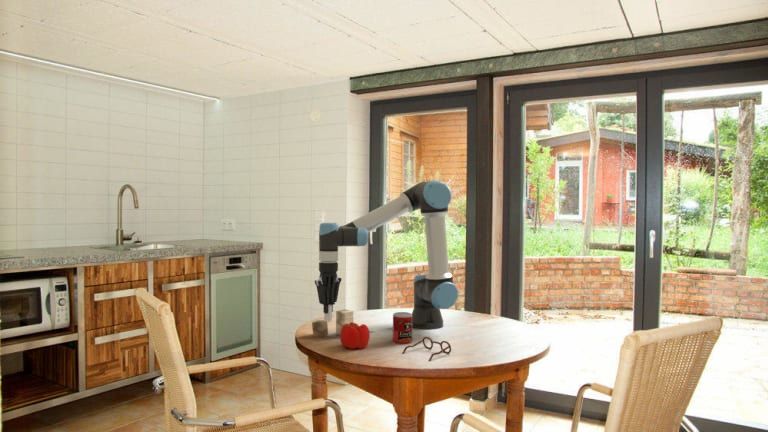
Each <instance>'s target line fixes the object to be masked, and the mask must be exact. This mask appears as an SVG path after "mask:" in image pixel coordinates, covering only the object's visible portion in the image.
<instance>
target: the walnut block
mask: <svg viewBox="0 0 768 432" xmlns="http://www.w3.org/2000/svg"><path fill="white" fill-rule="evenodd" d="M311 326H312V336H313V338H315V337H316V338H325V337H327V335H329V330H328V329H329V327H328V322H327V321H324V320H323V319H320V320H315V321H313V322H311Z"/></svg>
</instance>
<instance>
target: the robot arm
mask: <svg viewBox="0 0 768 432" xmlns="http://www.w3.org/2000/svg"><path fill="white" fill-rule="evenodd" d="M451 201H452V190H451V188H450V187H449V186H448V185H447V183H445V182H443V181H440V180H434V179H433V180H429V181H428V180H427V181H420V182H419V183H417V184H415V185H413V186H412V187H409V188H408V189H407V190H404V191H403V192H401V193H400V194H399V196H398V197H396V198H394V199H393V200H390V201H389V202H386V203H385V204H382V205H381V206H380V207H377V208H375V209H373V210H371V211H369V212H367V213H365V214H364V215H362V216H360V217H358V218H356V219H354V220H352V221H350V222H348V223H347V224H345V225H340V226H339V224H338V222H322V223H320V225H319V230H318V249H319V250H318V261H319V262H318V272H319V276H318V277H319V278H318V279H317V280H314V284H315V287H316V290H317V297H318V302H319V304H320V305H323V306H322V307H323V308H322V309H323V310H322V312H323V313H324V314H323V315H324V318H323V319H324V321H327V323H330V322H332V320H333V311H334V309H333V307H334V306H333V305H335V304H336V303H337V302H338V296H339V292H340V291H339V290H340V285H341V282H342V280H343V279H342V277H339V276H338V274H337V272H338V271H339V263H338V261H339V247H366V246H367V245H368V241H369V233H370V232H372V231H374V230H376V229H377V228H379V227H381V226H384V225H385V224H388V223H389V222H391V221H393V220H395V219H397V218H399V217H401V216H402V215H404V214H406V213H409V214H410V213H412V212H414V211H417V210H420V215H422V216H423V217H424V225H425V226H424V227H425V239H426V241H425V242H426V252H427V253H426V254H427V255H426V256H427V266H428V274H417V275H415V276H414V281H413V310H412V312H411V314H412V328H417V329H424V330H425V329H426V330H432V329H433V330H434V329H439V328H442V327H444V319H443V316H442V312H441V310H448V309H450V308H452V307H453V306H454V305H455V304H456V302H457V301H458V298H459V289H458V287H457V286H456V284H455V283H454V277H453V274H452V273H451V272H450V271H449V270H450V269H449V258H448V257H449V256H448V255H449V254H448V243H447V242H448V241H447V227H446V215H447V214H448V213H449V204H450V203H451Z"/></svg>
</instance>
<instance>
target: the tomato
mask: <svg viewBox="0 0 768 432" xmlns="http://www.w3.org/2000/svg"><path fill="white" fill-rule="evenodd" d="M369 331H370V329H369V327H368V326H367V325H366V324H364V323H362V324H361V325H359V324H358V323H356V322H353V323H352V322H350V324H345V325H344V326H343V327H342V330H341V335H340V339H339V340H340V343H341V345H342V346H343V347H345V348H347V349H350V350H354V349H359V350H362V349H366V348H367V346H368V344H369V342H370V338H371V337H370V336H371V333H369Z"/></svg>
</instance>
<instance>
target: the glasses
mask: <svg viewBox="0 0 768 432" xmlns="http://www.w3.org/2000/svg"><path fill="white" fill-rule="evenodd" d="M425 340H429V341H430V345H431V346H430V347H429V346H427V345H426V342H425ZM421 343H422V344H423V346H424V348H426V349H429V350H432V349H433V347H434V344H436V345H439V347H440V350H439V351H437V352H434V353H431V355H430V357H429V359H428V362H431V361H432V359H433V357H434V356H436V355H440V354H442V353H445V354H450V353H451V352H452V346H451V343H450V342H449V341H447V340H443V341H441V342H438V341H436V340H432V338H430V337H429V336H425V337H423V338H422V339H421V340H419V341H417V342H416V343H414V344H412V345H407V346H405V347H404V349H403V351H402V355H404V354H405V352H407V349H408V348H414V347H416V346H418V345H419V344H421ZM443 344H446V345H448V346H446V347H444V348H443ZM448 349H449V351H446V350H448Z"/></svg>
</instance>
